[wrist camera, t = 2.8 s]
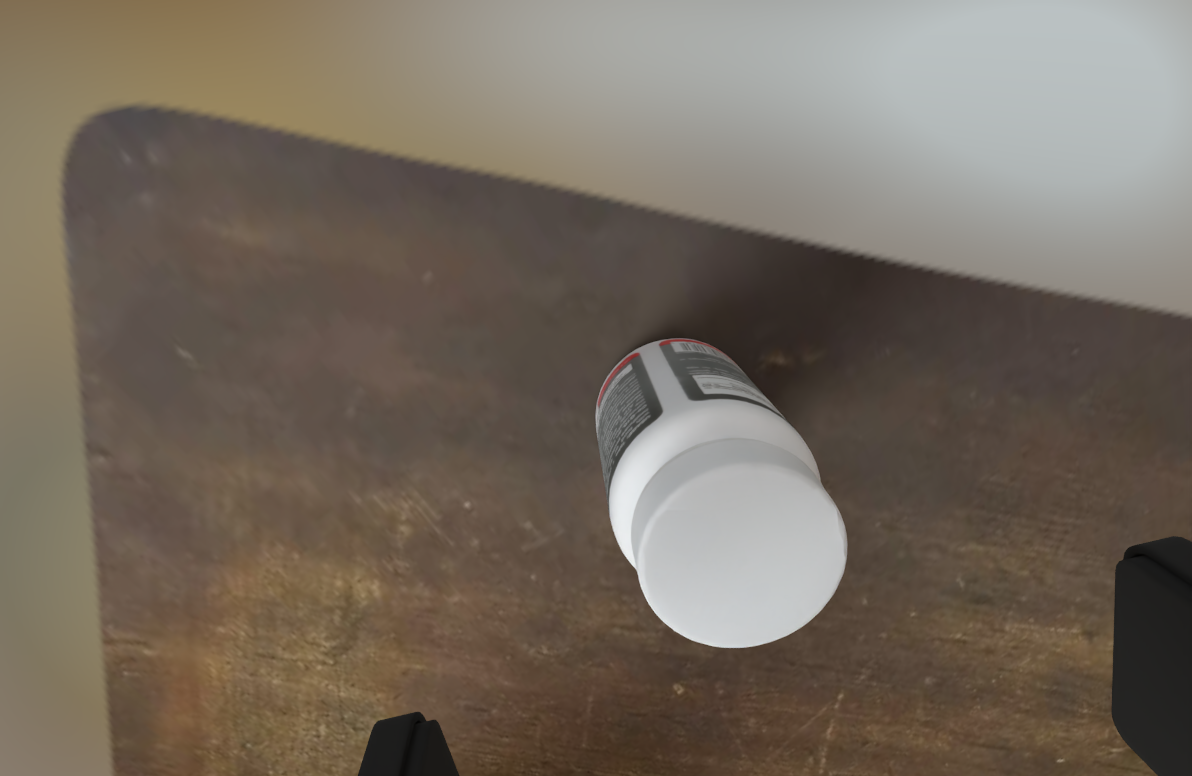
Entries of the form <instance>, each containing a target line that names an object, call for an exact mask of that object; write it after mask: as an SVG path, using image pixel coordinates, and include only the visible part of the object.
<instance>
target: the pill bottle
mask: <svg viewBox="0 0 1192 776" xmlns="http://www.w3.org/2000/svg"><path fill="white" fill-rule="evenodd" d="M596 430H597V437H598V444H599V451H600V457H601V463H602V470H603V476H604V482H605V489H606V496H607V502H608V510H609V516H610V520H611V524H612V528H613V531H614V534H615V537H616V539H617V542H618V544H619V546H620V548H621V550H622V552H623V553H624V555H625V556H626V558H627V559H628V561H629V562H630V563H631V564H632V566H633V567H634V568H635V569H636V570H637V573H638V577H639V582H640V585H641V589H642V591H643V593H644V596H645V598H646V600H647V601H648V603H649V605H650V606H651V608H652V609H653V611H654V612H655V613H656V614H657V616H658V617H659V618H660V619H661V620H662V621H663V622H664V623H665V624H666V625H668V626H669V627H670V628H672V629H673V630H674V631H676V632H677V633H679V634H681V635H683V636H684V637H686V638H688V639H690V640H693V641H696V642H699V643H703V644H706V645H709V646H715V647H722V648H745V647H751V646H757V645H762V644H765V643H769V642H772V641H775V640H777V639H780V638H782V637H785V636H787V635H789V634H791V633H793V632H795V631H796V630H798V629H799V628H801V627H803V626H804V625H805V624H807V623H808V622H809V621H810V620H811V619H813V618H814V617H815V616H816V615H817V614H818V613H819V612H820V611H821V610H822V609H823V607H824V606H825V605H826V604H827V602H829V600H830V598H831V597H832V596H833V594H834V593H835V591H836V589H837V587H838V584H839V582H840V580H841V578H842V576H843V573H844V570H845V565H846V560H847V534H846V530H845V525H844V522H843V519H842V517H841V514H840V512H839V510H838V508H837V506H836V505H835V503H834V501H833V500H832V499H831V497H830V496H829V495H828V493H827V492H826V490H825V489H824V487H823V486H822V484H821V480H820V474H819V471H818V468H817V464H816V462H815V460H814V457H813V455H812V453H811V451H810V450H809V448H808V446H807V445H806V443H805V442H804V440H803V439H802V437H801V436H800V435H799V433H798V432H797V431H796V430H795V429H794V427H793V426H792V425H791V424H790V423H789V422H788V421H787V420H786V419H785V418H784V417H783V416H782V414H781V413H780V412H779V411H778V410H777V409H776V408H775V407H774V406H773V404H772V403H771V402H770V401H769V400H768V399H767V398H766V397H765V395H764V394H763V393H762V392H761V391H760V390H759V389H758V388H757V387H756V385H755V384H754V383H753V382H752V381H751V380H750V379H749V378H748V377H747V375H746V374H745V373H744V372H743V371H742V370H741V369H740V367H739V366H738V365H737V364H736V363H735V362H734V361H733V360H732V359H731V358H730V357H728V356H727V355H726V354H724V353H723V352H722V351H720V350H719V349H717V348H715V347H713V346H711V345H709V344H707V343H704V342H701V341H697V340H692V339H684V338H674V339H665V340H659V341H655V342H652V343H649V344H646V345H644V346H642V347H640V348H638V349H636V350H634V351H632V352H631V353H629V354H628V355H627V356H626V357H624V358H623V359H622V360H621V361H620V362H619V363H618V364H617V365H616V366H615V367H614V368H613V370H612V371H611V372H610V374H609V375H608V377H607V378H606V380H605V382H604V384H603V386H602V388H601V391H600V394H599V397H598V401H597V406H596Z"/></svg>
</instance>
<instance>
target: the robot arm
mask: <svg viewBox="0 0 1192 776" xmlns="http://www.w3.org/2000/svg"><path fill="white" fill-rule="evenodd" d="M1112 718H1113V721H1114V724H1115V726H1116V728H1117V730H1118V732H1119V734H1120V735H1121V737H1122V738H1123V740H1124V741H1125V742H1126V743H1127V744H1128V746H1129V747H1130V748H1131V749H1132V750H1133V751H1134V752H1135V753H1136V754H1137V755H1138V756H1139V757H1140V758H1141V759H1142V760H1143V761H1144V762H1145V763H1146V764H1147V765H1148V766H1149V767H1150V768H1151V769H1152V770H1153V771H1154V772H1155V773H1156V774H1157V775H1158V776H1192V542H1191V541H1189V540H1187V539H1184V538H1182V537H1174V536H1173V537H1169V538H1165V539H1160V540H1156V541H1152V542H1147V543H1143V544H1139V545H1134V546H1132V547H1129V548H1128V549H1127V550H1126V552H1125V554H1124V559H1123V560H1122V561H1119V563H1118V564H1117V566H1116V572H1115V609H1114V645H1113V682H1112ZM358 776H459V774H458V771H457V769H456V766H455V764H454V761H453V758H452V756H451V753H450V751H449V748H448V746H447V743H446V740H445V738H444V735H443V733H442V730H441V728H440V725H439V723H438V722H437V721H436V720H431V721H426V720H425V718H424V716H423V715H422V714H421V713H420V712H414V713H410V714H406V715H401V716H397V717H393V718H388V719H384V720H380V721H378V722H377V723H376V724H375V725H374V727H373V729H372V732H371V735H370V738H369V741H368V745H367V748H366V751H365V754H364V758H363V761H362V764H361V767H360V770H359V774H358Z"/></svg>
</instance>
